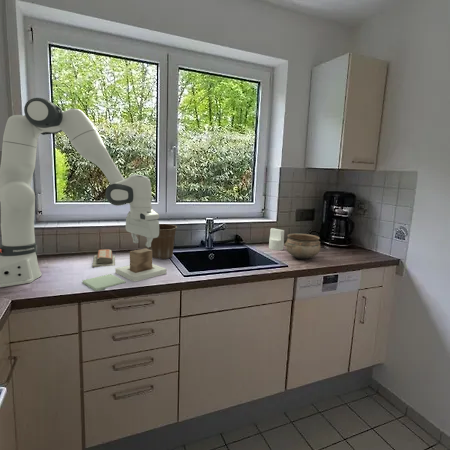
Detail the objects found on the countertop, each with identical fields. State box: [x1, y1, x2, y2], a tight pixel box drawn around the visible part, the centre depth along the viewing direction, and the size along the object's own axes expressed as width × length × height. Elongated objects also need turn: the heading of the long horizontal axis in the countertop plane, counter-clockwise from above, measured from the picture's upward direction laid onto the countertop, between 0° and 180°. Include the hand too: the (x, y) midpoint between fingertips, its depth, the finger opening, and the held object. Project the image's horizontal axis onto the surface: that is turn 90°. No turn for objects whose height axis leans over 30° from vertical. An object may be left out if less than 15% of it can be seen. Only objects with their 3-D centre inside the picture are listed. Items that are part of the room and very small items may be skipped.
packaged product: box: [91, 248, 116, 269], centre depth 154 cm, size 18×5×10 cm
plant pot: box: [148, 223, 178, 260], centre depth 166 cm, size 16×16×16 cm
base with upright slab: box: [268, 227, 285, 251], centre depth 195 cm, size 9×9×12 cm
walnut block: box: [129, 247, 153, 273], centre depth 137 cm, size 8×5×10 cm, turn 138°
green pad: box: [81, 273, 127, 292], centre depth 125 cm, size 12×12×1 cm
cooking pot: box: [284, 232, 321, 261], centre depth 174 cm, size 25×19×12 cm
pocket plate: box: [114, 263, 167, 282], centre depth 138 cm, size 16×15×2 cm
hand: (141, 244), depth 136 cm, fingers open, 8 cm apart
